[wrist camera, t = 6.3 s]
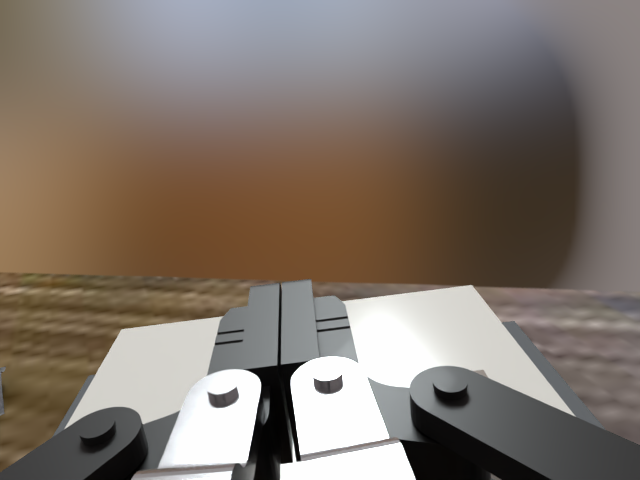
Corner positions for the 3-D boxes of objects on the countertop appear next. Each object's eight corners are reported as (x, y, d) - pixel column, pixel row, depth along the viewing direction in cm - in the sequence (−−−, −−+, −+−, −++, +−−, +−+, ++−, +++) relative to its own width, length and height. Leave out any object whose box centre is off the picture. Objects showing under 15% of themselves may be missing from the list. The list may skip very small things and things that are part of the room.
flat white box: (9, 520, 14) (121, 327, 23) (34, 577, 14) (132, 368, 24) (597, 440, 14) (471, 283, 23) (590, 501, 15) (471, 325, 24)
